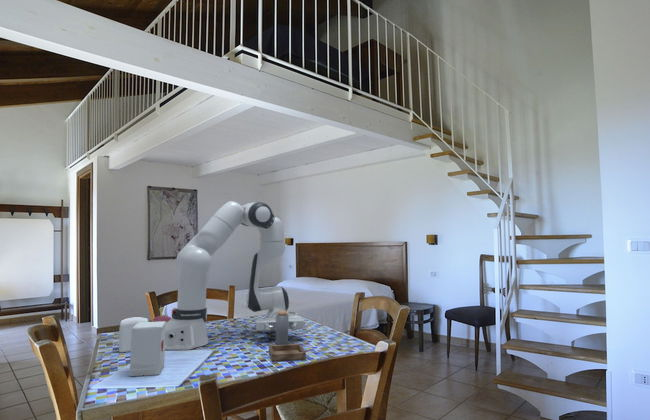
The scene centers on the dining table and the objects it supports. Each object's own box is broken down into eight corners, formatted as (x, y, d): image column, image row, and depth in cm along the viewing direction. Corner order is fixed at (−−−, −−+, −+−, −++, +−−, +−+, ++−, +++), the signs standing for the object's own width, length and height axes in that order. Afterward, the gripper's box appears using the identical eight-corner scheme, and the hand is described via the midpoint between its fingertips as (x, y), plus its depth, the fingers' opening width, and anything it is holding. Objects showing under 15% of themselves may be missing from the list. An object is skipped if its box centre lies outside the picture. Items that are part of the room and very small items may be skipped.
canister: (276, 347, 158) (276, 312, 159) (275, 343, 163) (275, 310, 164) (288, 346, 160) (289, 311, 160) (287, 343, 164) (287, 309, 165)
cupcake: (167, 333, 179) (168, 306, 180) (148, 333, 179) (149, 306, 180) (174, 329, 187) (175, 303, 188) (156, 328, 187) (157, 302, 188)
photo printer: (117, 353, 148) (119, 319, 149) (119, 350, 152) (120, 317, 153) (148, 350, 152) (149, 317, 153) (148, 347, 156) (149, 315, 157)
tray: (271, 361, 140) (272, 354, 140) (268, 352, 151) (269, 345, 151) (305, 359, 142) (305, 352, 142) (300, 350, 154) (300, 343, 154)
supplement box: (159, 375, 125) (161, 326, 126) (128, 377, 123) (130, 327, 124) (165, 366, 134) (166, 320, 135) (136, 367, 132) (138, 321, 133)
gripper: (254, 314, 173) (256, 320, 159) (301, 312, 177) (307, 319, 164) (254, 329, 172) (255, 337, 159) (301, 327, 177) (306, 334, 163)
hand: (282, 327), depth 161 cm, fingers open, 8 cm apart
